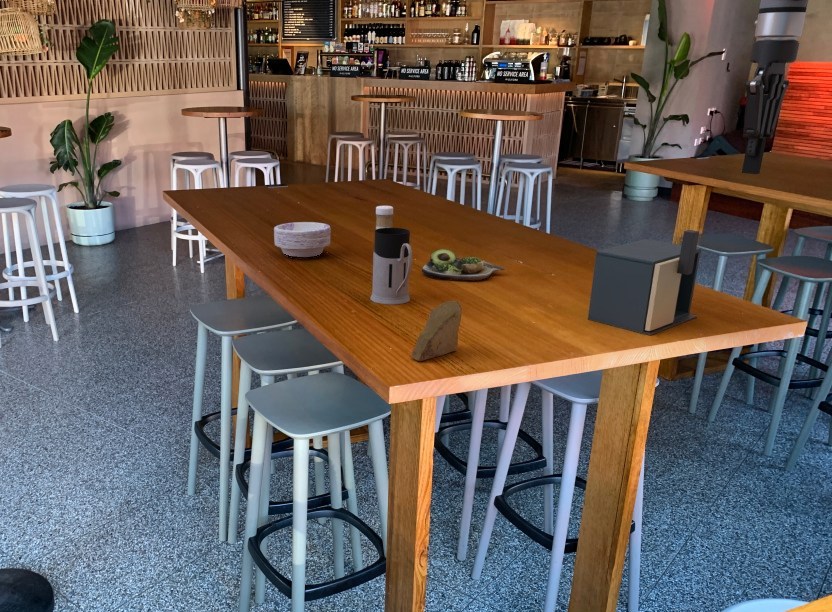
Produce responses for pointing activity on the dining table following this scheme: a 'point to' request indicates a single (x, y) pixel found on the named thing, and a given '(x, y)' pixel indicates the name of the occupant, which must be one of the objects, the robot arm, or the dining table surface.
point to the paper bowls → (302, 238)
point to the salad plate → (457, 267)
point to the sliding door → (670, 283)
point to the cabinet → (636, 285)
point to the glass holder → (391, 266)
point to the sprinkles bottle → (384, 217)
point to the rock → (439, 332)
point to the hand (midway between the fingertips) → (750, 173)
